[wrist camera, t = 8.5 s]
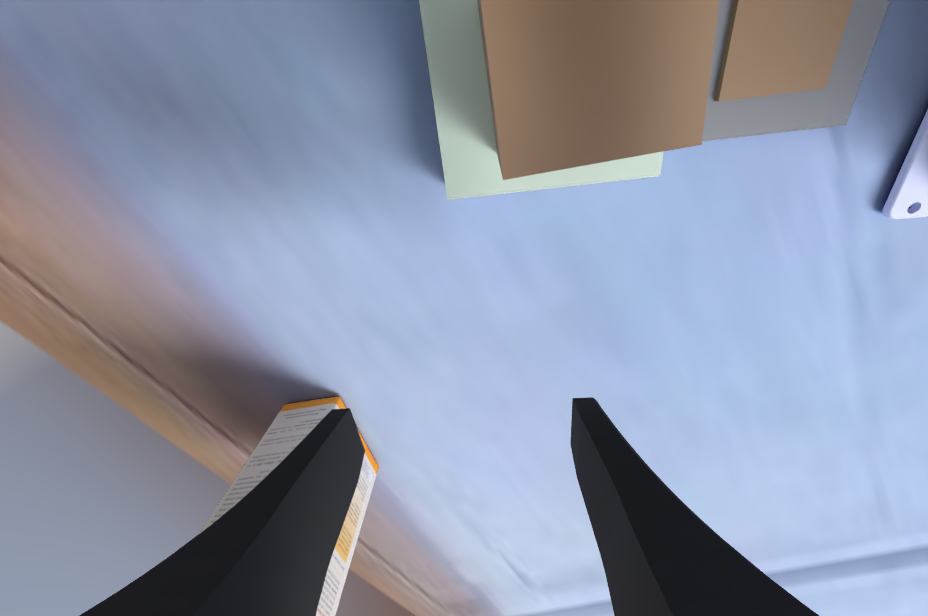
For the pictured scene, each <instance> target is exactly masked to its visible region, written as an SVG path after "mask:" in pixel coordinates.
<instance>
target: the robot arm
mask: <svg viewBox="0 0 928 616" xmlns="http://www.w3.org/2000/svg"><path fill="white" fill-rule="evenodd" d="M910 205H912V206H911V207H910V208H909V206H910ZM908 208H909V209H908ZM882 213H883V216H885V217H887V218H890V219H907V218H918V217H928V109H927V112H926V114H925V116H924V118H923V121H922V123H921V125H920V127H919V130H918V132H917V134H916V136H915V139H914V141H913V143H912V145H911V147H910V150H909V152H908V154H907V156H906V159H905V161H904V163H903V165H902V168H901V170H900V172H899V174H898V176H897V179H896V181H895V183H894V185H893V188H892V190H891V192H890V194H889V197H888V199H887V201H886V203H885V206H884V208H883V212H882ZM571 448H572V453H573V459H574V464H575V469H576V474H577V478H578V482H579V485H580V488H581V492H582V495H583V498H584V502H585V505H586V508H587V512H588V515H589V518H590V521H591V525H592V528H593V531H594V535H595V538H596V541H597V544H598V548H599V551H600V554H601V558H602V562H603V566H604V569H605V573H606V578H607V582H608V587H609V592H610V596H611V601H612V606H613V610H614V615H615V616H819V615H818V614H816V613H815V612H813V611H812V610H811V609H809V608H808V607H807V606H805V605H804V604H803V603H801V602H800V601H799V600H797V599H796V598H795V597H794V596H792V595H791V594H790V593H788V592H787V591H786V590H784V589H783V588H782V587H781V586H779V585H778V584H777V583H775V582H774V581H773V580H772V579H770V578H769V577H768V576H766V575H765V574H764V573H763V572H762V571H760V570H759V569H758V568H757V567H756V566H754V565H753V564H752V563H751V562H750V561H748V560H747V559H746V558H745V557H744V556H742V555H741V554H740V553H739V552H738V551H736V550H735V549H734V548H733V547H732V546H730V545H729V544H728V543H727V542H726V541H724V540H723V539H722V538H721V537H720V536H719V535H717V534H716V533H715V532H714V531H713V530H712V529H711V528H710V527H709V526H708V525H706V524H705V523H704V522H703V521H702V520H701V519H700V518H699V517H698V516H697V515H696V514H695V513H693V512H692V511H691V510H690V509H689V508H688V507H687V506H686V505H685V504H684V503H683V502H682V501H681V500H680V499H679V498H678V497H677V496H676V495H675V494H674V493H673V492H672V491H671V490H670V489H669V488H668V487H667V486H666V485H665V484H664V483H663V482H662V481H661V479H660V478H659V477H658V476H657V475H656V474H655V473H654V472H653V471H652V470H651V469H650V468H649V466H648V465H647V464H646V463H645V462H644V461H643V460H642V458H641V457H640V456H639V455H638V454H637V453H636V451H635V450H634V449H633V448H632V447H631V445H630V444H629V443H628V442H627V441H626V439H625V438H624V437H623V436H622V435H621V433H620V432H619V431H618V429H617V428H616V427H615V426H614V424H613V423H612V422H611V420H610V419H609V418H608V416H607V415H606V413H605V412H604V411H603V409H602V408H601V406H600V405H599V404H598V402H597V401H596V400H595V399H594V398H573V403H572V426H571ZM364 454H365V449H364V446H363V443H362V441H361V438H360V435H359V432H358V430H357V427H356V424H355V421H354V419H353V416H352V413H351V410H350V408H348V409H332V410H331V411H330V412H329V413H328V414H327V415H326V416H325V417H324V418H323V419H322V420H321V421H320V422H319V423H318V424H317V425H316V427H315V428H314V429H313V430H312V431H311V432H310V433H309V434H308V435H307V436H306V437H305V438H304V439H303V440H302V441H301V442H300V443H299V444H298V445H297V446H296V447H295V448H294V449H293V451H292V452H291V453H290V454H289V455H288V456H287V457H286V458H285V459H284V460H283V461H282V462H281V463H280V464H279V465H278V466H277V467H276V468H275V469H273V470H272V471H271V472H270V473H269V474H268V475H267V476H266V477H265V478H264V479H263V480H262V481H261V482H260V483H259V484H258V485H257V486H256V487H255V488H254V489H253V490H251V491H250V492H249V493H248V494H247V495H246V496H245V497H244V498H243V499H241V500H240V501H239V502H238V503H237V504H236V505H235V506H233V507H232V508H231V509H230V510H229V511H227V512H226V513H225V514H224V515H223V516H221V517H220V518H219V519H218V520H217V521H215V522H214V523H213V524H212V525H210V526H209V527H208V528H206V529H205V530H204V531H203V532H201V533H200V534H199V535H197V536H196V537H195V538H193V539H192V540H191V541H189V542H188V543H187V544H185V545H184V546H183V547H182V548H180V549H179V550H178V551H176V552H175V553H174V554H172V555H171V556H169V557H168V558H167V559H165V560H164V561H162V562H161V563H159V564H158V565H157V566H155V567H154V568H152V569H151V570H150V571H148V572H147V573H145V574H144V575H142V576H141V577H139V578H138V579H136V580H135V581H133V582H132V583H130V584H129V585H127V586H126V587H124V588H123V589H121V590H120V591H118V592H117V593H115V594H113V595H112V596H110V597H109V598H107V599H106V600H104V601H102V602H101V603H99V604H97V605H96V606H94V607H93V608H91V609H89V610H88V611H86V612H85V613H83V614H81V615H80V616H316V612H317V608H318V604H319V600H320V596H321V593H322V589H323V585H324V581H325V577H326V574H327V570H328V567H329V564H330V560H331V557H332V554H333V551H334V549H335V546H336V543H337V540H338V537H339V535H340V532H341V529H342V526H343V523H344V521H345V518H346V515H347V512H348V510H349V507H350V504H351V501H352V498H353V495H354V492H355V490H356V487H357V484H358V480H359V476H360V472H361V468H362V463H363V458H364Z"/></svg>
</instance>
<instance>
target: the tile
mask: <svg viewBox="0 0 928 616" xmlns="http://www.w3.org/2000/svg"><path fill="white" fill-rule="evenodd" d="M889 2H890V0H719V8H718V16H717V24H716V32H715V40H714V48H713V56H712V65H711V73H710V81H709V89H708V97H707V105H706V113H705V122H704V130H703V138H702V141H709V140H717V139H726V138H735V137H744V136H753V135H761V134H770V133H779V132H788V131H797V130H806V129H814V128H823V127H832V126H841V125H846V123H847V120H848V117H849V114H850V112H851V109H852V106H853V103H854V100H855V98H856V95H857V92H858V89H859V86H860V84H861V81H862V78H863V75H864V72H865V70H866V67H867V64H868V61H869V58H870V56H871V53H872V50H873V47H874V44H875V42H876V39H877V36H878V33H879V30H880V28H881V25H882V22H883V19H884V16H885V14H886V11H887V8H888V5H889Z"/></svg>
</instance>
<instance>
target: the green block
mask: <svg viewBox="0 0 928 616" xmlns="http://www.w3.org/2000/svg"><path fill="white" fill-rule="evenodd" d="M419 4H420V11H421V18H422V25H423V32H424V39H425V46H426V53H427V60H428V67H429V74H430V81H431V88H432V95H433V102H434V109H435V116H436V123H437V130H438V137H439V144H440V151H441V158H442V165H443V172H444V179H445V186H446V193H447V200H451V199H460V198H469V197H478V196H487V195H496V194H504V193H513V192H522V191H531V190H540V189H549V188H558V187H567V186H576V185H584V184H593V183H602V182H611V181H620V180H629V179H638V178H647V177H656V176H660V174H661V167H662V159H663V152H664V151H662V152H657V153H651V154H646V155H640V156H635V157H629V158H624V159H618V160H613V161H607V162H601V163H596V164H590V165H585V166H579V167H574V168H568V169H563V170H557V171H551V172H546V173H540V174H535V175H529V176H524V177H518V178H513V179H507V180H503V178H502V173H501V169H500V164H499V160H498V156H497V149H496V142H495V134H494V126H493V118H492V111H491V103H490V95H489V87H488V80H487V72H486V64H485V56H484V49H483V41H482V33H481V25H480V17H479V10H478V2H477V0H419Z"/></svg>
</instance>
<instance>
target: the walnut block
mask: <svg viewBox="0 0 928 616" xmlns="http://www.w3.org/2000/svg"><path fill="white" fill-rule="evenodd" d="M477 2H478V10H479V17H480V25H481V33H482V41H483V49H484V56H485V64H486V72H487V80H488V87H489V95H490V103H491V111H492V118H493V126H494V134H495V142H496V149H497V156H498V160H499V164H500V169H501V173H502V178H503V180H507V179H513V178H518V177H524V176H529V175H535V174H540V173H546V172H551V171H557V170H563V169H568V168H574V167H579V166H585V165H590V164H596V163H601V162H607V161H613V160H618V159H624V158H629V157H635V156H640V155H646V154H651V153H657V152H662V151H668V150H674V149H679V148H685V147H690V146H696V145H701V144H702V138H703V130H704V122H705V113H706V105H707V97H708V89H709V81H710V73H711V65H712V56H713V48H714V40H715V32H716V24H717V16H718V8H719V0H477Z"/></svg>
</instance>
